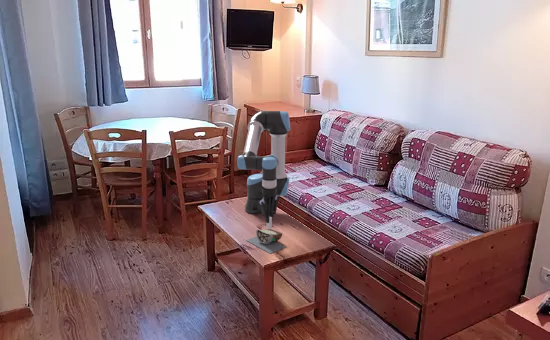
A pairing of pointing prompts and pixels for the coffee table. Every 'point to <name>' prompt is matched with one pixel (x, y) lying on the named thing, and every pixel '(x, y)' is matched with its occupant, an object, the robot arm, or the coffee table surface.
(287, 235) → the coffee table surface
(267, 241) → the food container
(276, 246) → the mat
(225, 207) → the coffee table surface
